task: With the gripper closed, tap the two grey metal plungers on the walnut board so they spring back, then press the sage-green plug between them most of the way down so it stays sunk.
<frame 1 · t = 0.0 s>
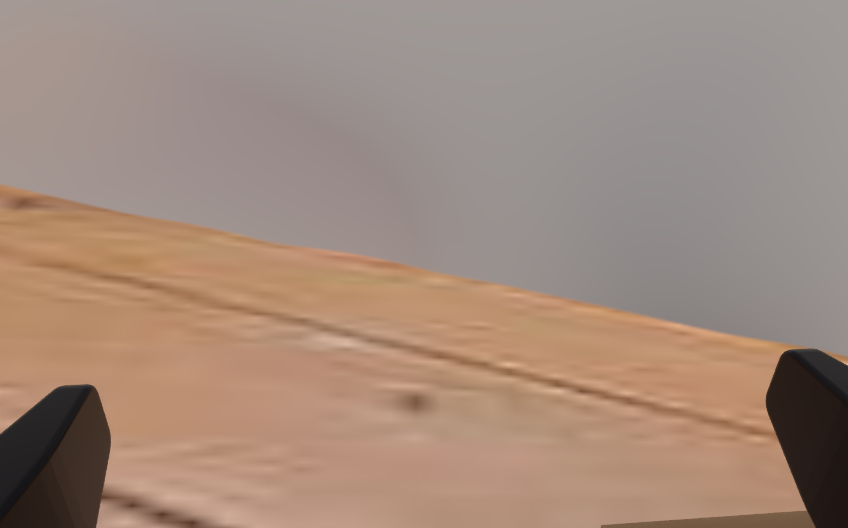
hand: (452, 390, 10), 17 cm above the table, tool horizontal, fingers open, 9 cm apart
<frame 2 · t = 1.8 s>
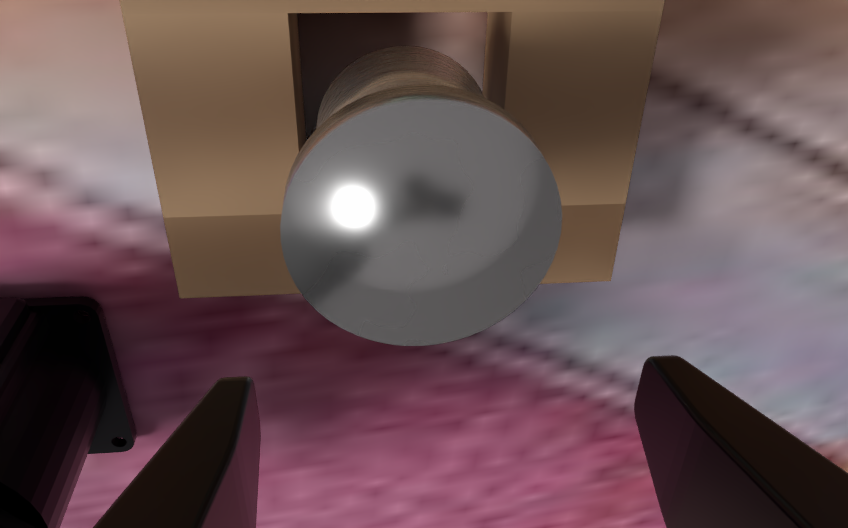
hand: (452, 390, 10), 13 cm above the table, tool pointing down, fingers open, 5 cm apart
plunger 1: (412, 177, 15), point 6 cm above the table, slide at 0.0 cm
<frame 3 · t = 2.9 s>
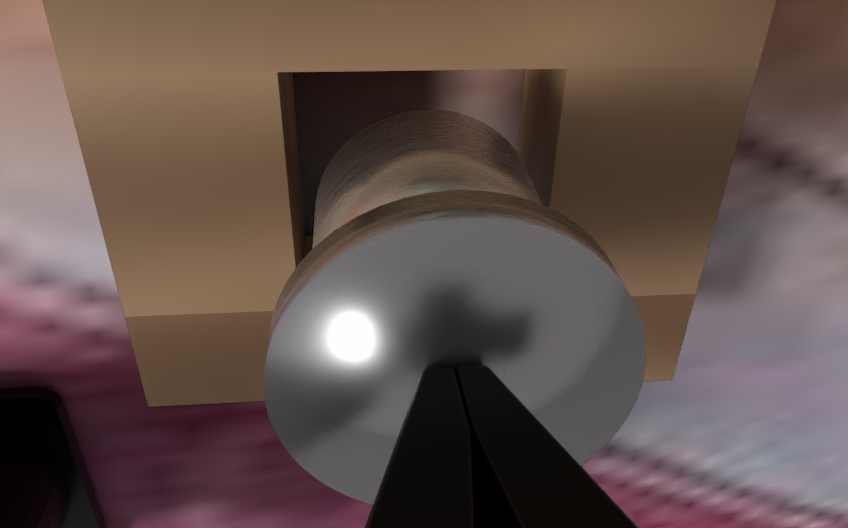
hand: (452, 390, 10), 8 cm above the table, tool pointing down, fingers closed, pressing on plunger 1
plunger 1: (438, 285, 11), point 6 cm above the table, slide at 0.3 cm, touching gripper
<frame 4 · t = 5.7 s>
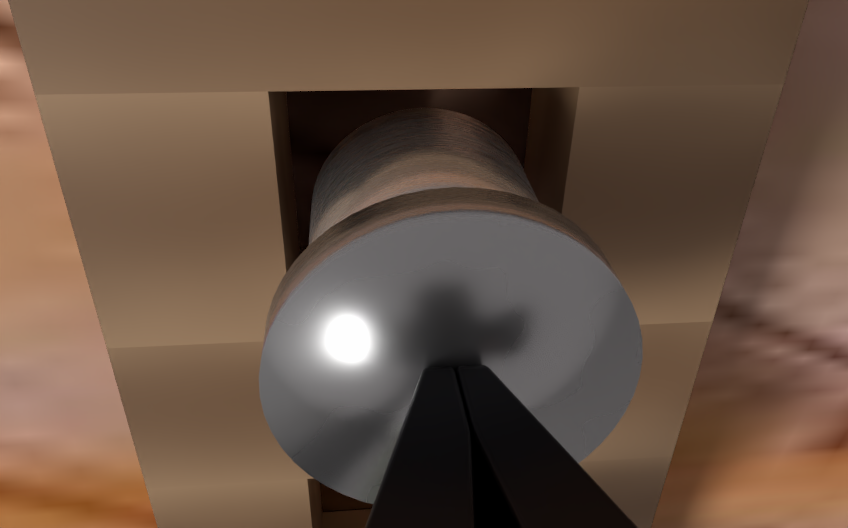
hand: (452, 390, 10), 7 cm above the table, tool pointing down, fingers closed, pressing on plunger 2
walnut board: (407, 448, 20), on the table
plunger 2: (434, 283, 11), point 5 cm above the table, slide at 1.3 cm, touching gripper
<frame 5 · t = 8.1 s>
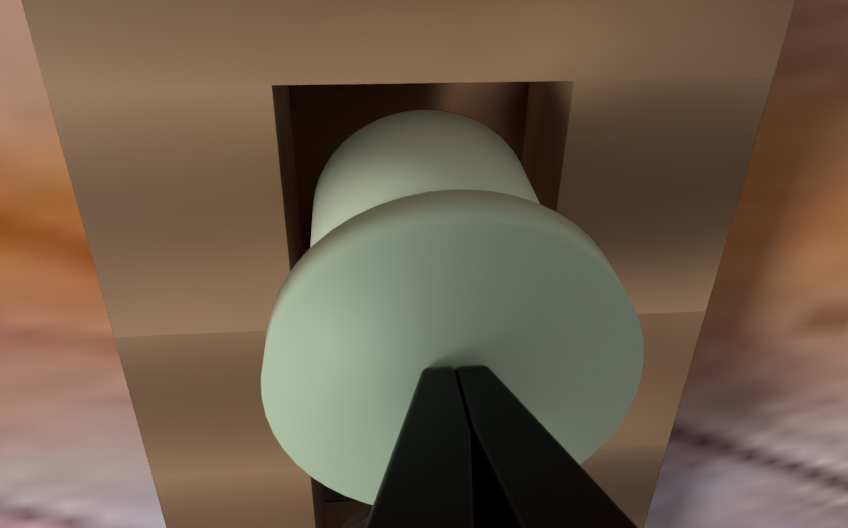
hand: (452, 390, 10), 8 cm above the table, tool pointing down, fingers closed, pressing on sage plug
sage plug: (436, 285, 11), point 5 cm above the table, slide at 0.9 cm, touching gripper
walnut board: (410, 148, 16), on the table
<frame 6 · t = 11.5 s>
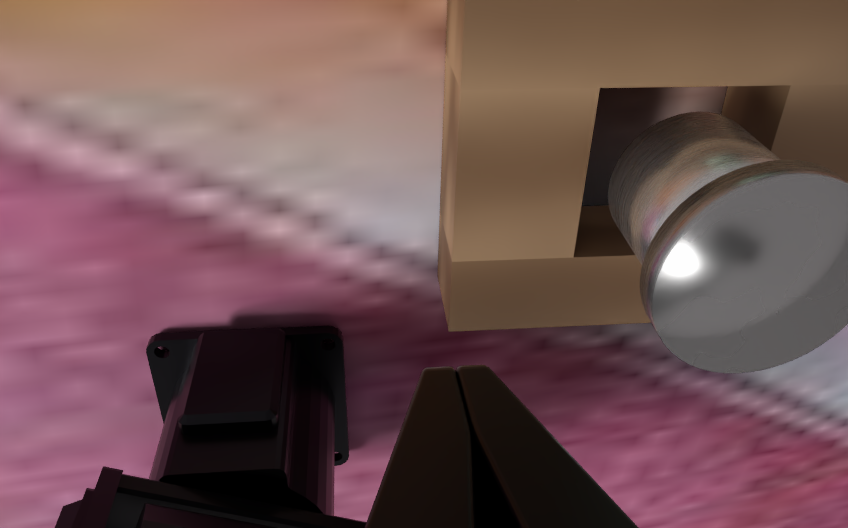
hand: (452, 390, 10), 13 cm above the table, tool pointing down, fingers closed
plunger 1: (720, 228, 17), point 6 cm above the table, slide at 0.4 cm
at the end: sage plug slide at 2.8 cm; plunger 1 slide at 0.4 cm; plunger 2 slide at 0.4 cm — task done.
